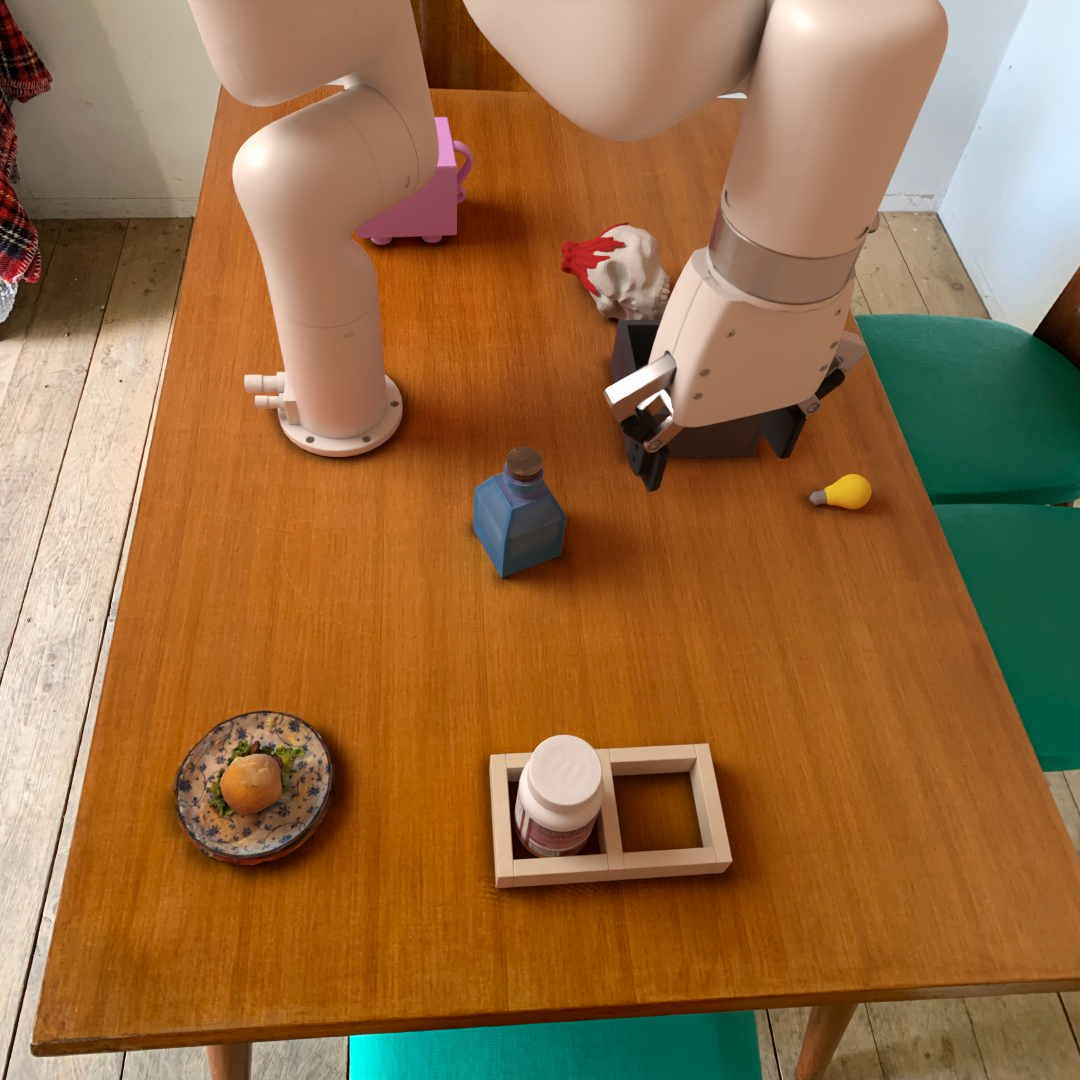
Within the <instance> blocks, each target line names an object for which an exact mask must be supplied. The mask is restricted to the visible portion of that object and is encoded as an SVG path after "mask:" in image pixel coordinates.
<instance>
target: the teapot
mask: <svg viewBox="0 0 1080 1080" xmlns="http://www.w3.org/2000/svg"><path fill="white" fill-rule="evenodd" d="M434 117H435V122H436V127H437V134H438V143H439V159H438V165H437V168H436V171H435V174H434V176H433V177H432V179H431V180H430V181H429V183H428V184H427V185H426V186H425V187H423V188H422V189H421V190H419V191H418V192H416V193H415V194H413V195H412V196H410V197H408V198H407V199H405V200H403V201H402V202H400V203H398V204H396V205H395V206H393V207H391V208H389V209H388V210H386V211H384V212H382V213H380V214H379V215H377V216H375V217H374V218H373V219H371V220H369V221H368V222H366V223H364V224H363V225H361V226H360V227H359V228H357V229H356V238H357V239H370V240H371V242H372V243H374V244H376V245H380V246H383V245H388V244H389V243H390V242H391V241H392V240H393V238H406V237H421V239H422V240H423V241H424V242H426V243H428V244H429V243H430V244H435V243H439V242H440V241H441V240H442V238H443V236H457V235H458V204H460V203H463V202H464V200H465V199H466V196H467V191H466V188H465V186H463V185H462V183H463V182H464V181H465V180H466V178H467V177H468V176H469V174H470V173H471V171H472V169H473V167H474V161H475V160H474V155H473V152H472V150H471V149H470V148H469V146H468V145H467V144H465V143H463V142H462V141H459V140H454V139H452V133H451V128H450V123H449V118H448V117H447V116H434ZM455 152H457V153H459V154H462V155H463V156H464V157H465V161H464V163H463V164H462V166H461V168H460V169H459V170H458V164H457V158H456V153H455ZM458 192H459V193H458Z"/></svg>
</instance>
